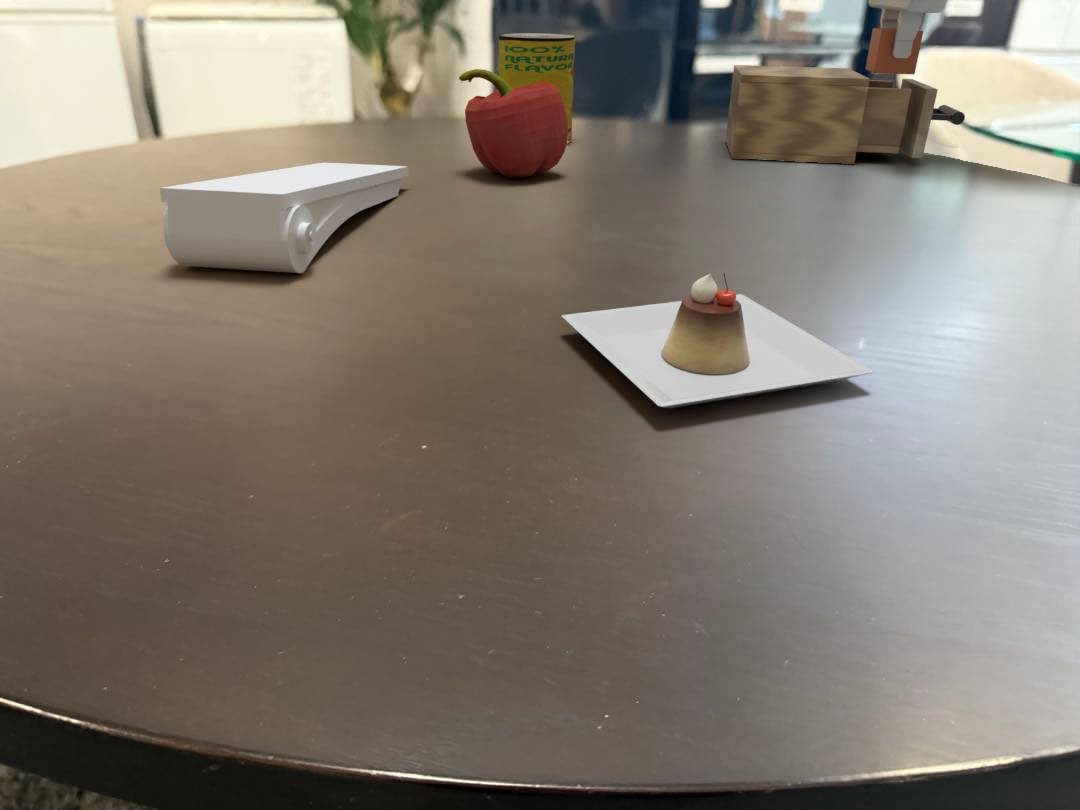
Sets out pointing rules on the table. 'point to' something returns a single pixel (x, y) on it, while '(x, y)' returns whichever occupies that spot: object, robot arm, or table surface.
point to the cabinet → (796, 113)
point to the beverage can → (539, 63)
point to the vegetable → (516, 126)
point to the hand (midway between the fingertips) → (893, 55)
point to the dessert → (711, 348)
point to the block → (882, 57)
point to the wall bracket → (270, 214)
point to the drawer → (901, 117)
